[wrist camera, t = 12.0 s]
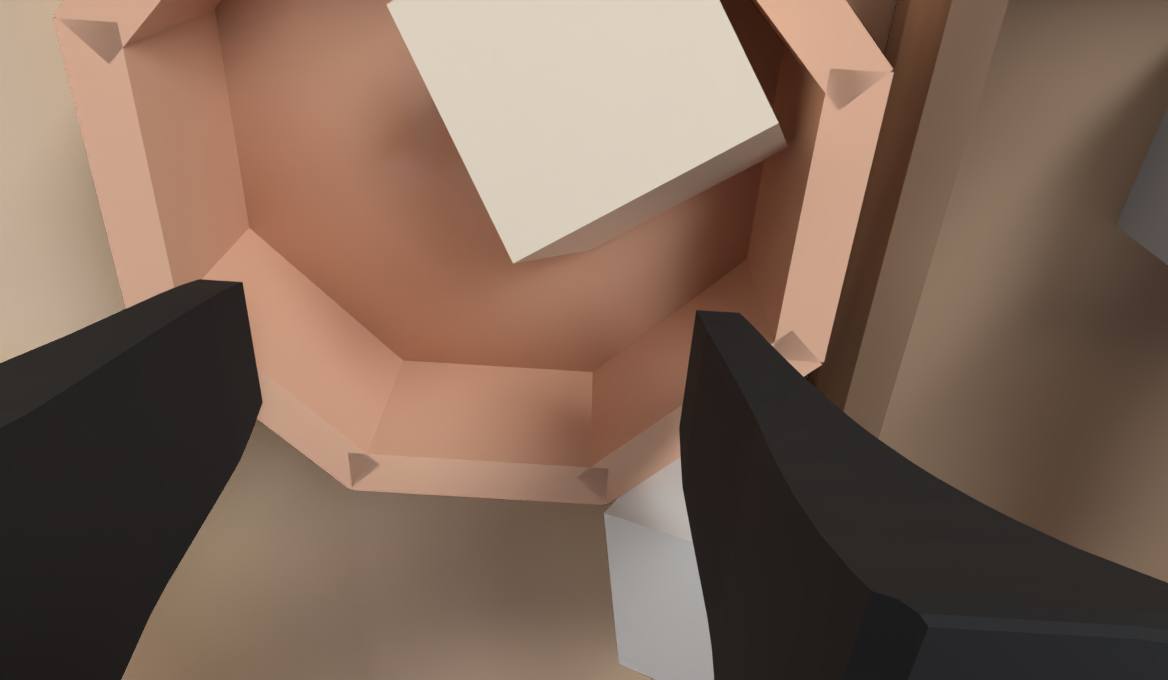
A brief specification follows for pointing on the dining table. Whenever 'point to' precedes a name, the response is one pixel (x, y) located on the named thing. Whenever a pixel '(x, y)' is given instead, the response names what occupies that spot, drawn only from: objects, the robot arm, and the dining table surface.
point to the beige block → (588, 109)
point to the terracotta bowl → (452, 239)
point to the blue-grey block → (1150, 198)
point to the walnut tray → (1017, 268)
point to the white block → (657, 582)
